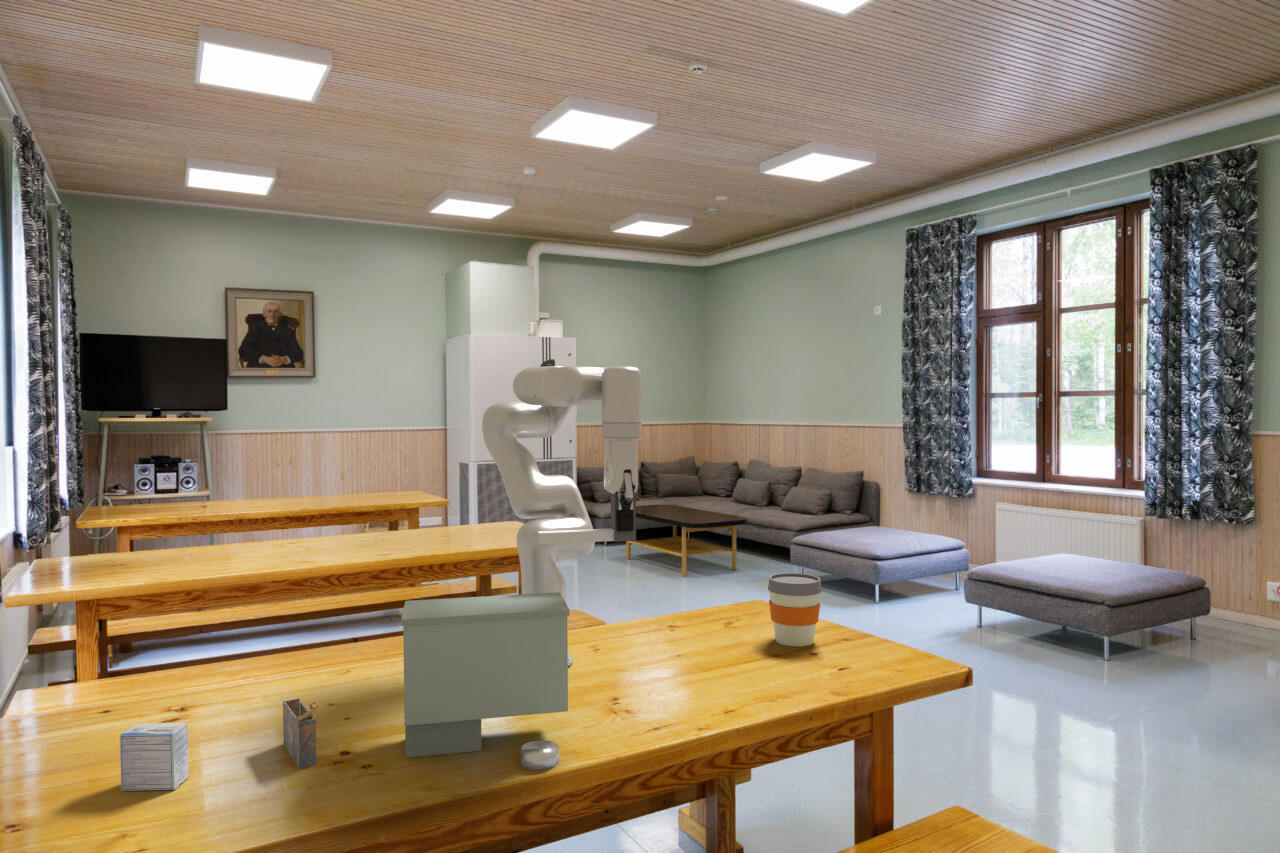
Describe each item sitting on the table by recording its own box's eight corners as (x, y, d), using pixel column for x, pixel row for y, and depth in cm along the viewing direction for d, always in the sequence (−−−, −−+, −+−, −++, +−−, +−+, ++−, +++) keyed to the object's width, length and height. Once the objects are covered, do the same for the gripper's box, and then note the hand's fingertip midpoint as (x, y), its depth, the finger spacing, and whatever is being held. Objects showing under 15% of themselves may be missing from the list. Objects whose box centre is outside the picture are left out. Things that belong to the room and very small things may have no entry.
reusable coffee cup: (780, 650, 189) (781, 585, 189) (759, 635, 201) (759, 574, 201) (830, 646, 192) (831, 582, 192) (807, 632, 204) (807, 571, 204)
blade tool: (537, 541, 154) (537, 493, 154) (631, 537, 158) (631, 490, 158) (539, 544, 151) (539, 495, 150) (635, 540, 155) (635, 492, 154)
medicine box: (190, 777, 126) (189, 721, 126) (174, 791, 121) (173, 733, 121) (137, 778, 126) (136, 722, 125) (119, 792, 121) (118, 734, 121)
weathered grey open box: (319, 766, 131) (318, 705, 130) (299, 771, 129) (298, 709, 129) (302, 742, 140) (301, 685, 140) (283, 746, 138) (282, 689, 138)
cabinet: (407, 733, 143) (405, 600, 142) (560, 719, 148) (559, 592, 148) (402, 764, 130) (401, 619, 130) (570, 747, 136) (569, 609, 136)
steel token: (519, 757, 133) (519, 742, 133) (556, 754, 134) (556, 738, 134) (522, 773, 127) (522, 757, 127) (561, 770, 128) (560, 754, 128)
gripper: (594, 431, 163) (595, 523, 163) (610, 434, 146) (611, 537, 147) (631, 430, 164) (632, 522, 165) (651, 433, 148) (652, 535, 149)
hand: (622, 528), depth 156 cm, fingers closed on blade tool, 4 cm apart
